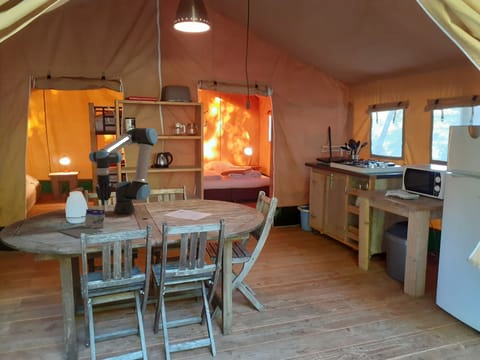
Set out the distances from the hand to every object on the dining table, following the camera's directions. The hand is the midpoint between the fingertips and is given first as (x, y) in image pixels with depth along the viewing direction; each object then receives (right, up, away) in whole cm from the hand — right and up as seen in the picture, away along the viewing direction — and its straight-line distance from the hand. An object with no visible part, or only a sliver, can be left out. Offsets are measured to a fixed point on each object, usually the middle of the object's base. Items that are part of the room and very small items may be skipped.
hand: (104, 210), depth 243 cm
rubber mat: (-10, -12, -13) cm, 21 cm away
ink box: (-5, -11, -5) cm, 13 cm away
